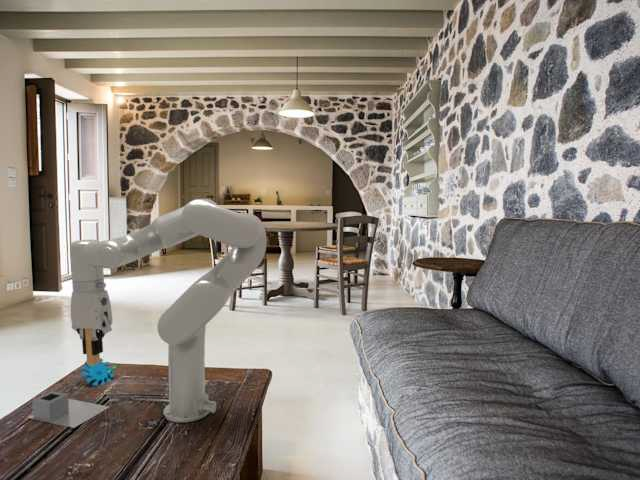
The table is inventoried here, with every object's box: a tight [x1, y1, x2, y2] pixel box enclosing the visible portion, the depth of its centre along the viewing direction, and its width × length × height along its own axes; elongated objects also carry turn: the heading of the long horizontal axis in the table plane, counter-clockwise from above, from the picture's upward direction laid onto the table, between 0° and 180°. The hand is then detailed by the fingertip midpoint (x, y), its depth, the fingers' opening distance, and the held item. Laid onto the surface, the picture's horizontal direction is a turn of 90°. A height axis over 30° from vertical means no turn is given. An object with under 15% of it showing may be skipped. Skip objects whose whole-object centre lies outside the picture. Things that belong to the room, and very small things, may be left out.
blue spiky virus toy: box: [80, 357, 117, 387], centre depth 142 cm, size 11×6×10 cm
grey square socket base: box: [26, 390, 110, 429], centre depth 121 cm, size 16×12×6 cm
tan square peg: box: [85, 329, 101, 365], centre depth 121 cm, size 2×2×10 cm
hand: (93, 352), depth 121 cm, fingers closed on tan square peg, 2 cm apart
